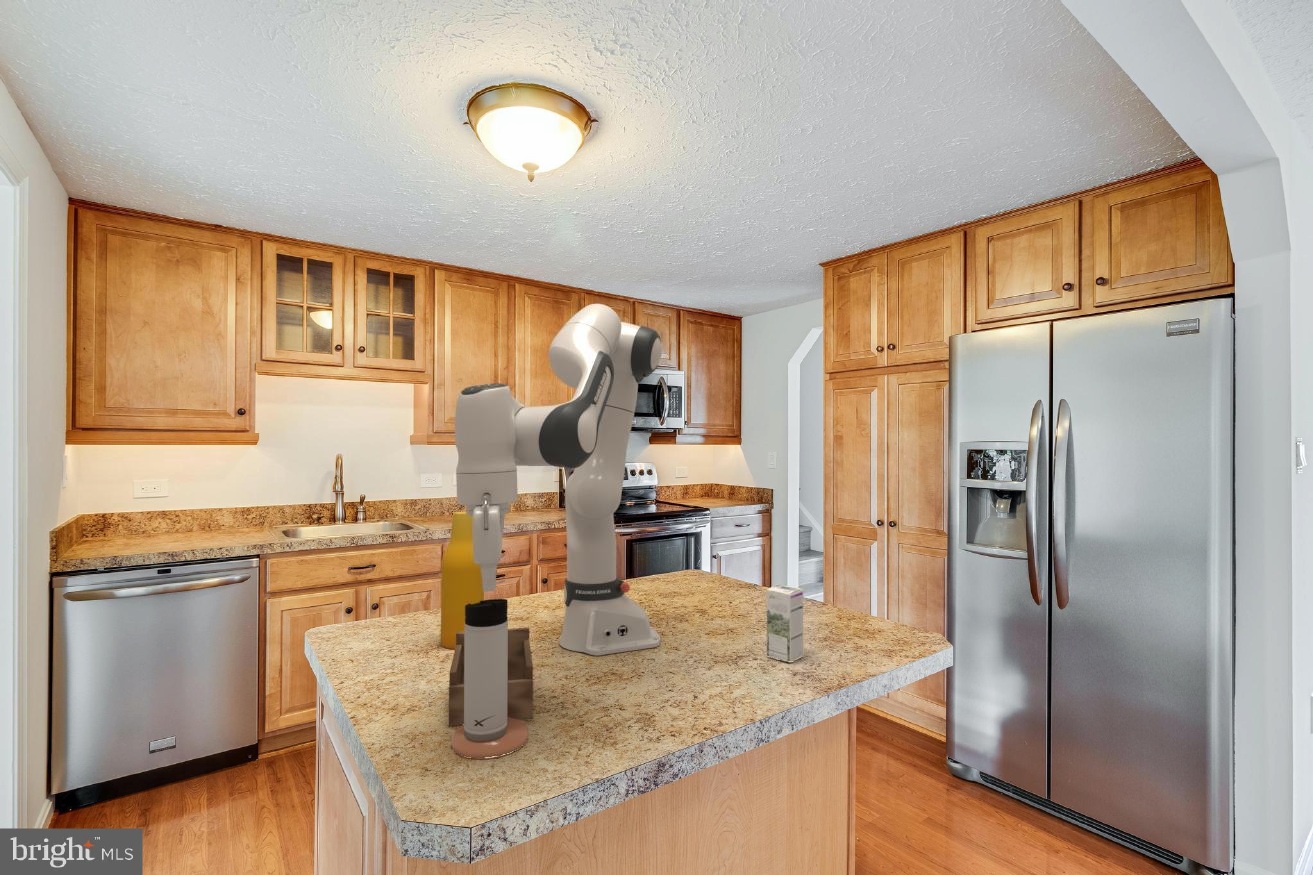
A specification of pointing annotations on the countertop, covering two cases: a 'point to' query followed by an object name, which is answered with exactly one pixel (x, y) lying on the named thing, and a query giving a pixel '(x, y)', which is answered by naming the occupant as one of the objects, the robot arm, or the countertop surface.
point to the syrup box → (785, 622)
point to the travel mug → (485, 670)
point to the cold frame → (517, 678)
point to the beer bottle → (458, 579)
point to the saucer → (498, 747)
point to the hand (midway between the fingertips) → (490, 582)
